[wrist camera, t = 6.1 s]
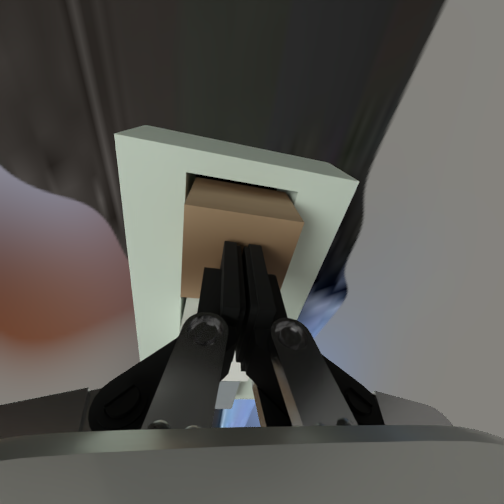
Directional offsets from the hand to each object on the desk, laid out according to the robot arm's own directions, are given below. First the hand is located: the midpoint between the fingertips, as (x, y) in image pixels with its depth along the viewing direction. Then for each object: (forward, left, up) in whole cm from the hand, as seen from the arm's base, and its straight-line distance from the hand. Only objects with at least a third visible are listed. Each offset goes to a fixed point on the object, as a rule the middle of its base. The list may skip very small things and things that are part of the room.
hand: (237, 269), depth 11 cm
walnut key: (0, 0, -4) cm, 4 cm away
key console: (+8, 0, -8) cm, 11 cm away
